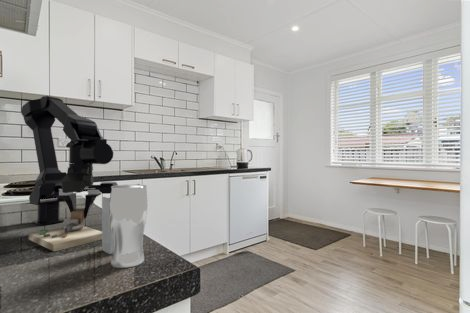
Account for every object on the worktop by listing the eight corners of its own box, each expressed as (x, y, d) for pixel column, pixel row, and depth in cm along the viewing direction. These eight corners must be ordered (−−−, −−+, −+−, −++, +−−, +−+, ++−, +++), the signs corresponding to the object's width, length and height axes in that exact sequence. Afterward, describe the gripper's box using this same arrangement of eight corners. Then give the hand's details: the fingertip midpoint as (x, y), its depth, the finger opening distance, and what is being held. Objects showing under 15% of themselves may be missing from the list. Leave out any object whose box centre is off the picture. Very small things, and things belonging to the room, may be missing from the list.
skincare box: (127, 243, 62) (127, 193, 62) (136, 248, 59) (137, 195, 59) (100, 250, 57) (101, 195, 58) (109, 255, 55) (110, 198, 55)
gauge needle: (76, 233, 63) (76, 217, 63) (55, 234, 62) (56, 218, 62) (90, 221, 75) (90, 207, 76) (72, 222, 74) (73, 208, 74)
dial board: (28, 239, 65) (28, 231, 65) (77, 229, 74) (77, 222, 74) (53, 251, 56) (54, 242, 56) (105, 238, 66) (105, 230, 66)
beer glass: (133, 271, 47) (134, 188, 47) (100, 267, 49) (101, 187, 49) (153, 257, 54) (154, 185, 54) (123, 254, 55) (124, 183, 56)
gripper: (28, 164, 63) (26, 228, 63) (111, 164, 68) (110, 223, 68) (47, 163, 74) (46, 218, 74) (118, 163, 79) (117, 214, 79)
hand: (80, 218), depth 73 cm, fingers closed on gauge needle, 2 cm apart
